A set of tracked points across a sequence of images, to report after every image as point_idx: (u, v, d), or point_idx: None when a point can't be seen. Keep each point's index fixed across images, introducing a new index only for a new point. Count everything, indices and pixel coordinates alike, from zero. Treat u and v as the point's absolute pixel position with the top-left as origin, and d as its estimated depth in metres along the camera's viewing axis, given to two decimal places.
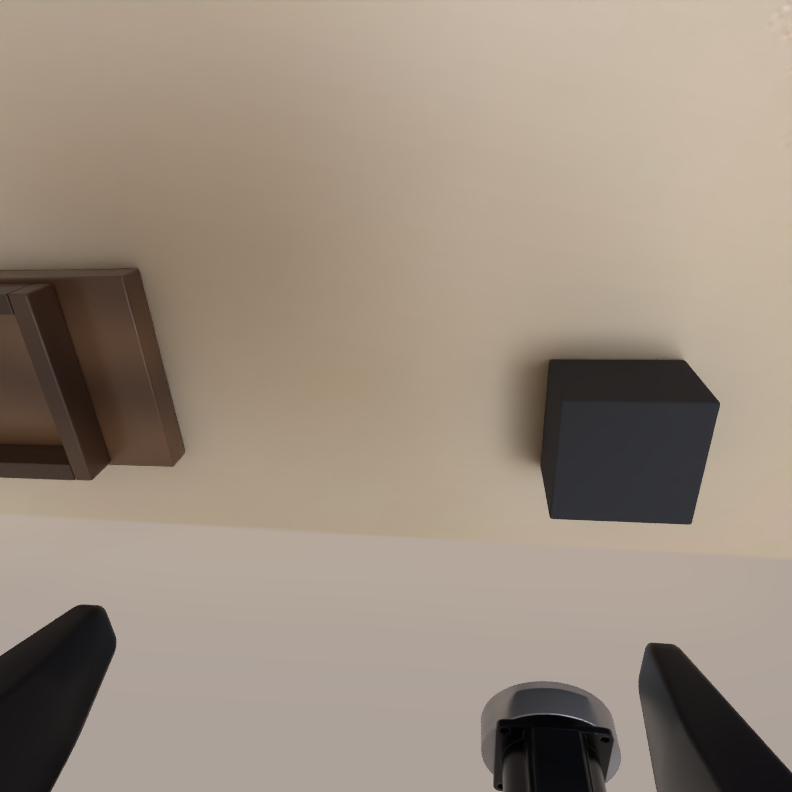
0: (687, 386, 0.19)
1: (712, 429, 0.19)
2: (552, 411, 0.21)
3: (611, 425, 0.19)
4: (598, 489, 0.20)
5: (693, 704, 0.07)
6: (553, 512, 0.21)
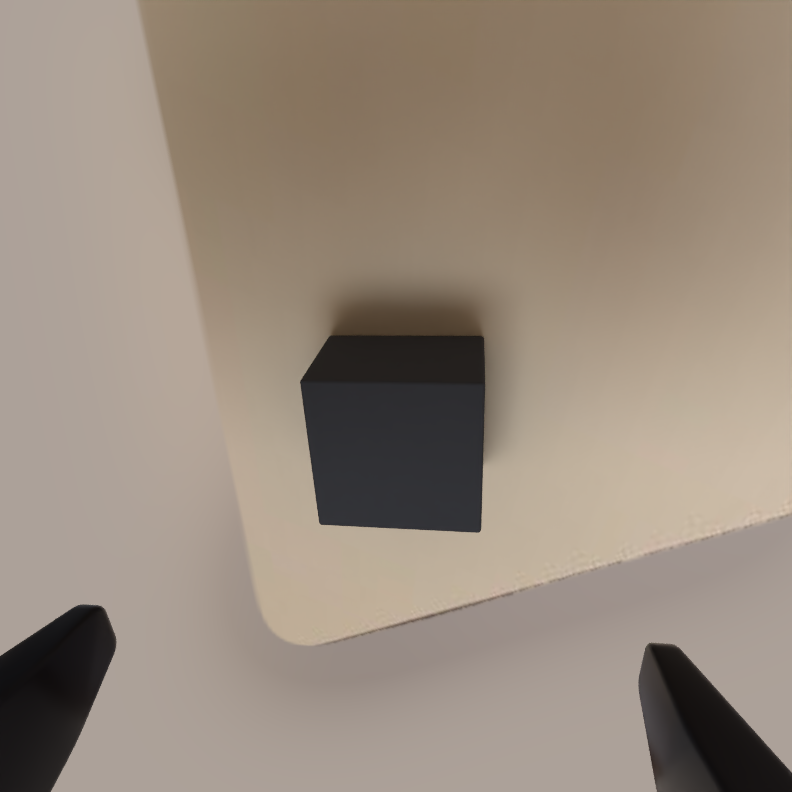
0: None
1: (447, 530, 0.17)
2: (439, 358, 0.16)
3: (450, 439, 0.16)
4: (355, 432, 0.16)
5: (693, 704, 0.07)
6: (311, 384, 0.15)
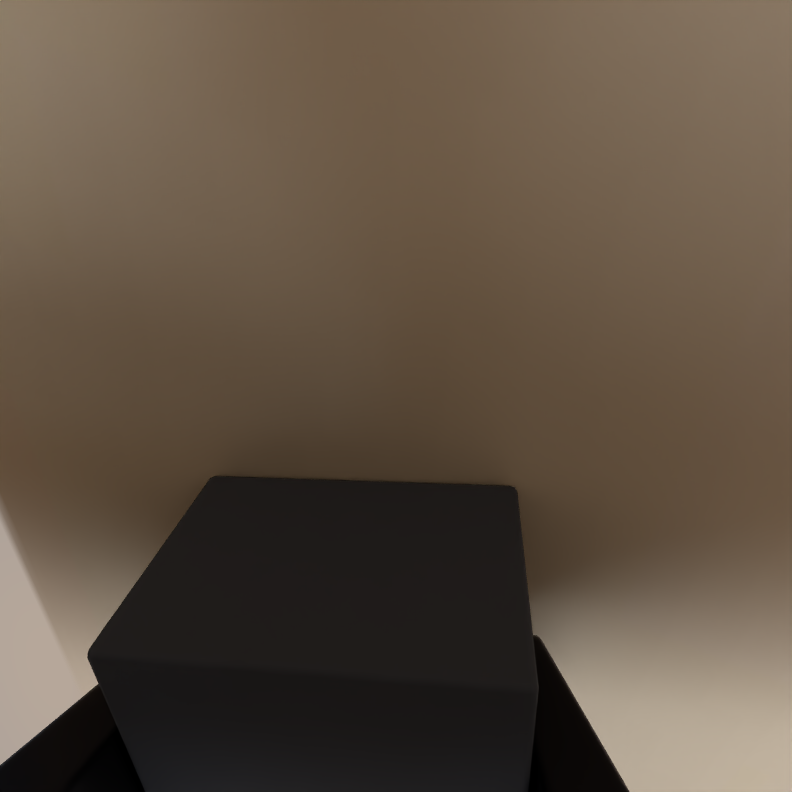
0: None
1: None
2: (424, 568, 0.07)
3: (450, 781, 0.07)
4: (229, 753, 0.07)
5: None
6: (112, 662, 0.06)
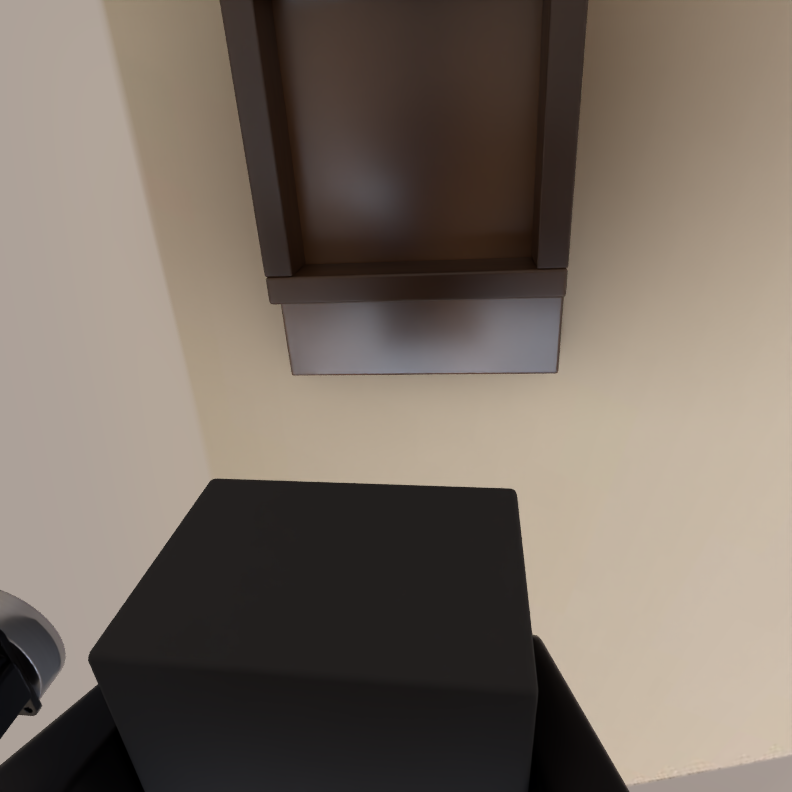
0: None
1: None
2: (424, 571, 0.07)
3: (449, 783, 0.07)
4: (230, 755, 0.07)
5: None
6: (113, 665, 0.06)
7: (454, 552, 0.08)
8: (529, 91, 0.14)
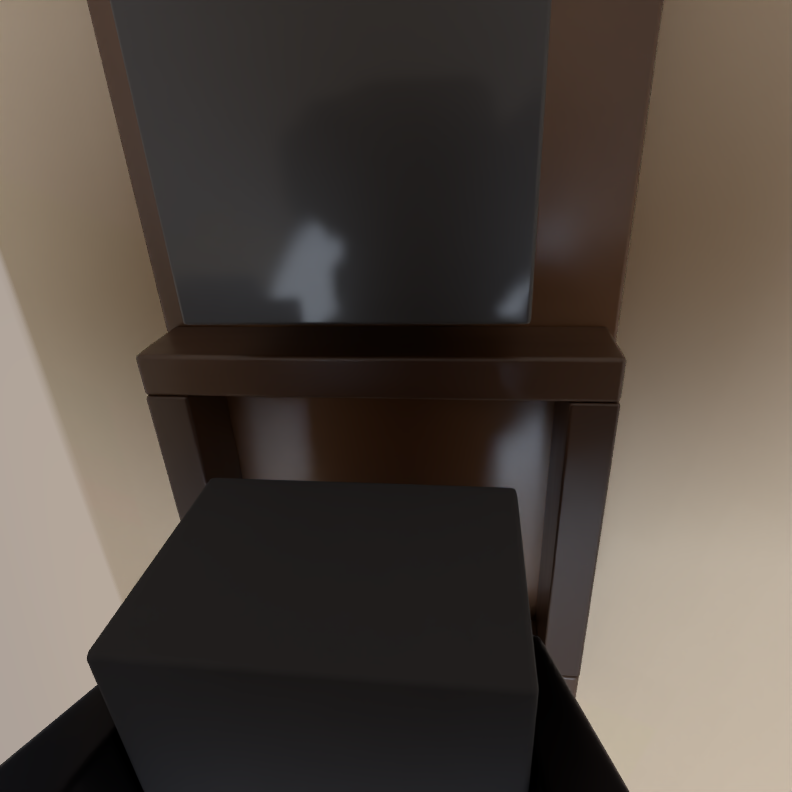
0: None
1: None
2: (424, 570, 0.07)
3: (449, 783, 0.07)
4: (229, 755, 0.07)
5: None
6: (112, 664, 0.06)
7: (454, 551, 0.08)
8: (536, 473, 0.12)
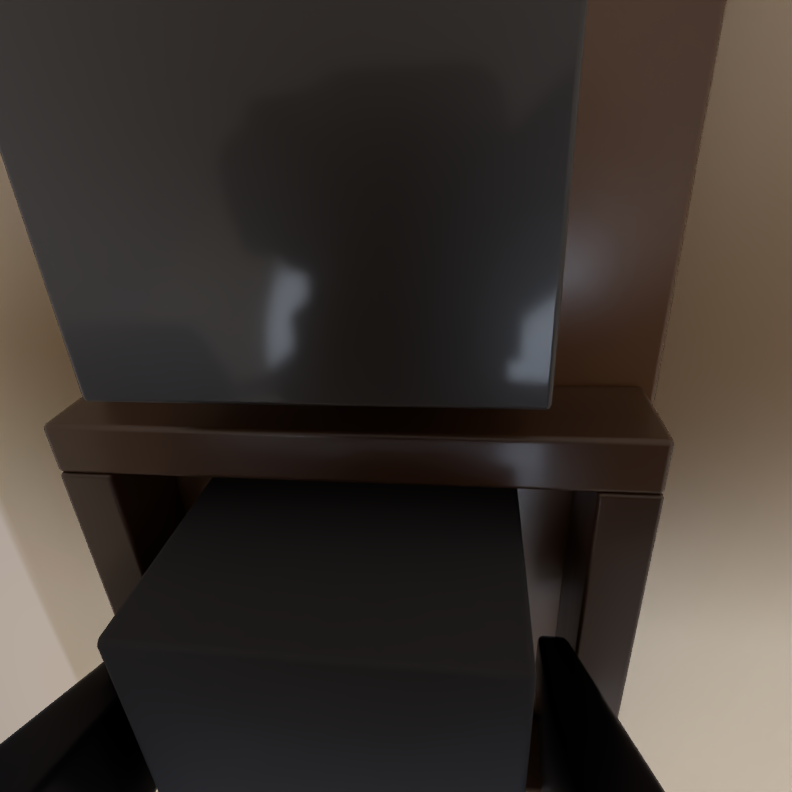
0: None
1: None
2: (426, 560, 0.07)
3: (449, 767, 0.07)
4: (235, 740, 0.07)
5: (566, 694, 0.07)
6: (121, 651, 0.06)
7: (455, 542, 0.08)
8: (550, 556, 0.10)
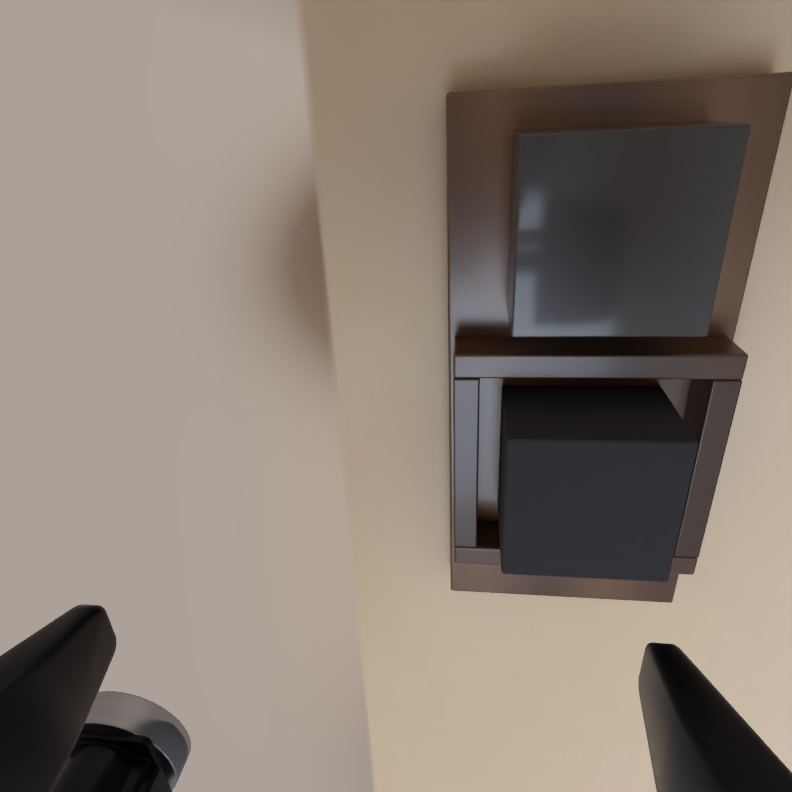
0: None
1: (634, 579, 0.17)
2: (634, 413, 0.16)
3: (653, 494, 0.16)
4: (556, 488, 0.16)
5: (693, 704, 0.07)
6: (519, 442, 0.16)
7: (644, 407, 0.17)
8: None
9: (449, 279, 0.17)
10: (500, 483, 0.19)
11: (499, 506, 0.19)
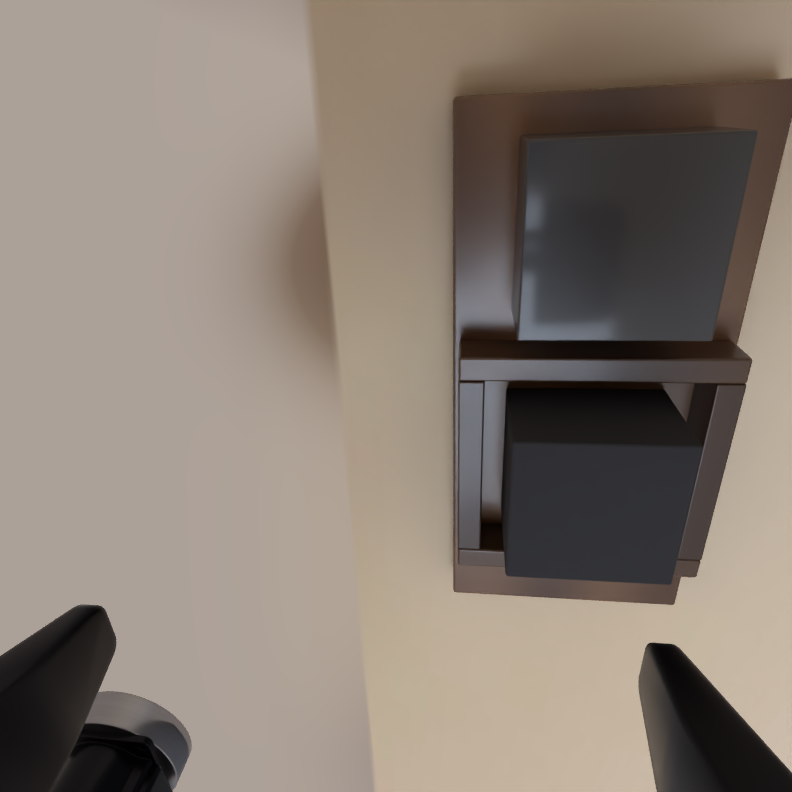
0: None
1: (638, 582, 0.17)
2: (638, 416, 0.17)
3: (658, 497, 0.16)
4: (561, 491, 0.16)
5: (693, 704, 0.07)
6: (524, 445, 0.16)
7: (648, 410, 0.17)
8: None
9: (454, 282, 0.17)
10: (504, 485, 0.19)
11: (503, 508, 0.19)
